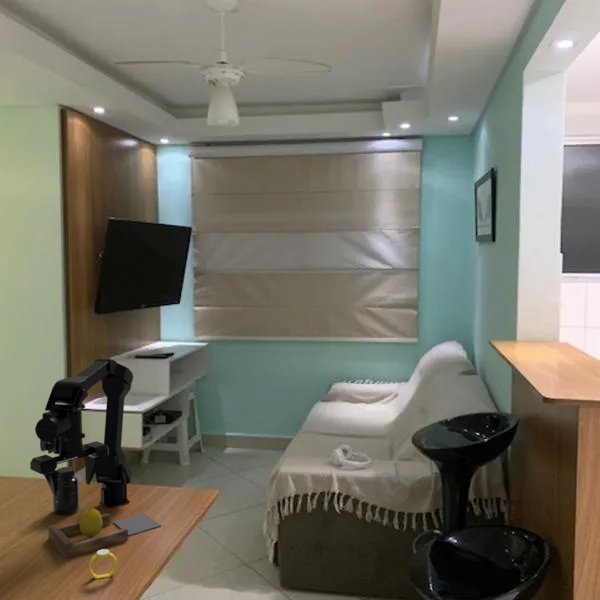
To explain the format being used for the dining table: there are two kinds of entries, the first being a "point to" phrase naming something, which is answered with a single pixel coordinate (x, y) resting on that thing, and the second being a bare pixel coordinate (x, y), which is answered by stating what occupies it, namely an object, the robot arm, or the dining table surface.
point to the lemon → (90, 523)
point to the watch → (102, 554)
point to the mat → (137, 524)
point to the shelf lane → (72, 549)
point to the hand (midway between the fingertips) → (71, 489)
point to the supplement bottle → (66, 492)
